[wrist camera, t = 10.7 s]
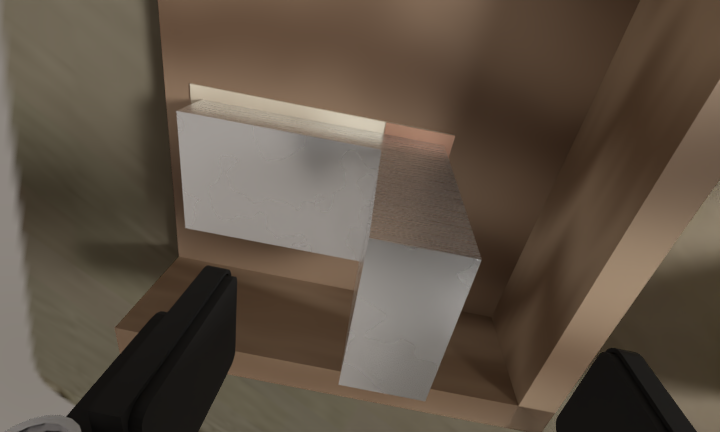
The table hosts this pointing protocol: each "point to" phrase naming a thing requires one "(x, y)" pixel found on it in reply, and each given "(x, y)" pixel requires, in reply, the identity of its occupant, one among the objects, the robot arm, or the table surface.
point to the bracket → (343, 225)
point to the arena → (464, 172)
